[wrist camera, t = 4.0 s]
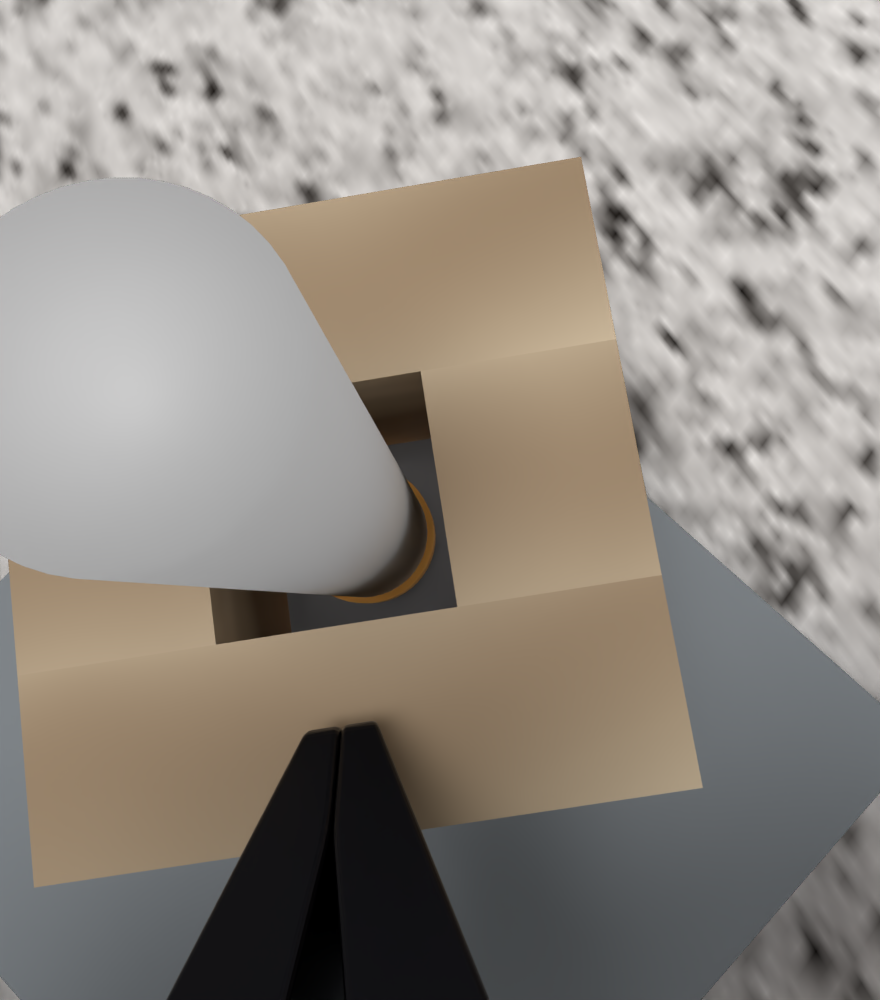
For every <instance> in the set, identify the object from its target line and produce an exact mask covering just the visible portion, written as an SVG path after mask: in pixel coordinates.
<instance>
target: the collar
mask: <svg viewBox="0 0 880 1000" xmlns="http://www.w3.org/2000/svg"><path fill="white" fill-rule="evenodd" d="M240 216H241V217H242V218H243V219H245V220H246V221H247V222H248V223H250V224H251V225H252V226H253V227H254V228H255V229H256V230H257V231H258V232H259V233H260V234H261V235H262V236H263V237H264V238H265V239H266V240H267V241H268V242H269V243H270V245H271V246H272V247H273V249H274V250H275V251H276V253H277V254H278V256H279V257H280V258H281V260H282V261H283V262H284V264H285V265H286V267H287V269H288V271H289V273H290V274H291V276H292V278H293V280H294V281H295V283H296V285H297V287H298V288H299V290H300V292H301V294H302V296H303V297H304V299H305V301H306V303H307V304H308V306H309V308H310V310H311V312H312V313H313V315H314V317H315V319H316V320H317V322H318V324H319V326H320V327H321V329H322V331H323V333H324V335H325V336H326V338H327V340H328V342H329V343H330V345H331V347H332V349H333V350H334V352H335V354H336V356H337V358H338V359H339V361H340V363H341V365H342V366H343V368H344V370H345V372H346V373H347V375H348V377H349V379H350V381H351V382H352V384H353V386H354V388H355V389H356V391H357V393H358V395H359V397H360V398H361V400H362V402H363V404H364V405H365V407H366V409H367V411H368V412H369V414H370V416H371V418H372V420H373V421H374V423H375V425H376V427H377V428H378V430H379V432H380V434H381V435H382V437H383V439H384V441H385V443H386V444H387V445H393V444H399V443H406V442H412V441H418V440H424V439H430V438H431V441H432V448H433V454H434V460H435V467H436V473H437V480H438V486H439V492H440V499H441V505H442V512H443V518H444V524H445V531H446V537H447V544H448V550H449V556H450V563H451V569H452V576H453V582H454V588H455V595H456V601H457V607H454V608H447V609H441V610H435V611H428V612H422V613H415V614H409V615H403V616H396V617H390V618H383V619H377V620H371V621H364V622H358V623H351V624H345V625H339V626H332V627H326V628H319V629H313V630H307V631H300V632H294V633H292V631H291V623H290V615H289V607H288V599H287V592H272V591H256V590H241V589H226V588H210V587H195V586H179V585H164V584H149V583H133V582H118V581H102V580H87V579H74V578H68V577H62V576H56V575H50V574H46V573H43V572H40V571H37V570H34V569H30V568H27V567H24V566H22V565H20V564H17V563H15V562H13V561H11V560H9V559H8V562H9V575H10V588H11V601H12V613H13V626H14V639H15V652H16V664H17V677H18V690H19V703H20V715H21V728H22V741H23V754H24V766H25V779H26V792H27V804H28V817H29V830H30V843H31V855H32V868H33V881H34V888H35V887H41V886H48V885H55V884H61V883H68V882H75V881H81V880H88V879H95V878H102V877H108V876H115V875H122V874H128V873H135V872H142V871H148V870H155V869H162V868H169V867H175V866H182V865H189V864H195V863H202V862H209V861H216V860H222V859H229V858H236V857H240V856H241V854H242V852H243V851H244V849H245V847H246V845H247V843H248V841H249V839H250V837H251V835H252V833H253V831H254V829H255V827H256V825H257V824H258V822H259V820H260V818H261V816H262V814H263V812H264V810H265V808H266V806H267V804H268V802H269V800H270V798H271V797H272V795H273V793H274V791H275V789H276V787H277V785H278V783H279V781H280V779H281V777H282V775H283V773H284V772H285V770H286V768H287V766H288V764H289V762H290V760H291V758H292V756H293V754H294V752H295V750H296V748H297V746H298V745H299V743H300V741H301V739H302V737H303V736H304V734H305V733H307V732H308V731H310V730H315V729H321V728H327V727H334V726H336V727H340V728H341V729H343V727H344V726H346V725H348V724H353V723H360V722H366V721H375V722H377V723H378V725H379V727H380V730H381V732H382V735H383V737H384V739H385V742H386V744H387V747H388V749H389V752H390V754H391V757H392V759H393V762H394V764H395V767H396V769H397V772H398V774H399V777H400V779H401V781H402V784H403V786H404V789H405V791H406V794H407V796H408V799H409V801H410V804H411V806H412V809H413V811H414V814H415V816H416V818H417V821H418V823H419V826H420V828H421V830H423V829H430V828H437V827H443V826H450V825H457V824H464V823H470V822H477V821H484V820H490V819H497V818H504V817H510V816H517V815H524V814H531V813H537V812H544V811H551V810H557V809H564V808H571V807H578V806H584V805H591V804H598V803H604V802H611V801H618V800H624V799H631V798H638V797H645V796H651V795H658V794H665V793H671V792H678V791H685V790H691V789H698V788H703V786H702V781H701V776H700V771H699V765H698V760H697V755H696V750H695V745H694V740H693V734H692V729H691V724H690V719H689V714H688V708H687V703H686V698H685V693H684V688H683V683H682V677H681V672H680V667H679V662H678V657H677V652H676V646H675V641H674V636H673V631H672V626H671V620H670V615H669V610H668V605H667V600H666V595H665V589H664V584H663V579H662V574H661V569H660V564H659V558H658V553H657V548H656V543H655V538H654V532H653V527H652V522H651V517H650V512H649V507H648V501H647V496H646V491H645V486H644V481H643V476H642V470H641V465H640V460H639V455H638V450H637V444H636V439H635V434H634V429H633V424H632V419H631V413H630V408H629V403H628V398H627V393H626V388H625V382H624V377H623V372H622V367H621V362H620V357H619V351H618V346H617V341H616V336H615V331H614V325H613V320H612V315H611V310H610V305H609V300H608V294H607V289H606V284H605V279H604V274H603V269H602V263H601V258H600V253H599V248H598V243H597V237H596V232H595V227H594V222H593V217H592V212H591V206H590V201H589V196H588V191H587V186H586V181H585V175H584V170H583V165H582V160H581V157H577V158H571V159H566V160H560V161H554V162H548V163H542V164H536V165H530V166H525V167H519V168H513V169H507V170H501V171H495V172H489V173H483V174H478V175H472V176H466V177H460V178H454V179H448V180H442V181H436V182H431V183H425V184H419V185H413V186H407V187H401V188H395V189H390V190H384V191H378V192H372V193H366V194H360V195H354V196H348V197H343V198H337V199H331V200H325V201H319V202H313V203H307V204H301V205H296V206H290V207H284V208H278V209H272V210H266V211H260V212H255V213H249V214H243V215H240Z"/></svg>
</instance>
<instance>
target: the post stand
mask: <svg viewBox="0 0 880 1000" xmlns="http://www.w3.org/2000/svg"><path fill="white" fill-rule="evenodd" d="M647 501H648V507H649V512H650V517H651V522H652V527H653V532H654V538H655V543H656V548H657V553H658V558H659V564H660V569H661V574H662V579H663V584H664V589H665V595H666V600H667V605H668V610H669V615H670V620H671V626H672V631H673V636H674V641H675V646H676V652H677V657H678V662H679V667H680V672H681V677H682V683H683V688H684V693H685V698H686V703H687V708H688V714H689V719H690V724H691V729H692V734H693V740H694V745H695V750H696V755H697V760H698V765H699V771H700V776H701V781H702V786H703V788H698V789H691V790H685V791H678V792H671V793H665V794H658V795H651V796H645V797H638V798H631V799H624V800H618V801H611V802H604V803H598V804H591V805H584V806H578V807H571V808H564V809H557V810H551V811H544V812H537V813H531V814H524V815H517V816H510V817H504V818H497V819H490V820H484V821H477V822H470V823H464V824H457V825H450V826H443V827H437V828H430V829H423V830H421V831H422V833H423V836H424V838H425V841H426V843H427V846H428V848H429V851H430V853H431V855H432V858H433V860H434V863H435V865H436V868H437V870H438V873H439V875H440V878H441V880H442V883H443V885H444V888H445V890H446V892H447V895H448V897H449V900H450V902H451V905H452V907H453V910H454V912H455V915H456V917H457V920H458V922H459V925H460V927H461V930H462V932H463V934H464V937H465V939H466V942H467V944H468V947H469V949H470V952H471V954H472V957H473V959H474V962H475V964H476V967H477V969H478V971H479V974H480V976H481V979H482V981H483V984H484V986H485V989H486V991H487V994H488V996H489V999H490V1000H701V999H702V998H703V997H704V996H705V995H706V994H707V992H708V991H709V990H710V989H711V988H712V987H713V985H714V984H715V983H716V982H717V981H718V980H719V978H720V977H721V976H722V975H723V974H724V973H725V972H726V970H727V969H728V968H729V967H730V966H731V965H732V963H733V962H734V961H735V960H736V959H737V958H738V956H739V955H740V954H741V953H742V952H743V951H744V949H745V948H746V947H747V946H748V945H749V944H750V943H751V941H752V940H753V939H754V938H755V937H756V936H757V934H758V933H759V932H760V931H761V930H762V929H763V927H764V926H765V925H766V924H767V923H768V922H769V921H770V919H771V918H772V917H773V916H774V915H775V914H776V912H777V911H778V910H779V909H780V908H781V907H782V905H783V904H784V903H785V902H786V901H787V900H788V898H789V897H790V896H791V895H792V894H793V893H794V892H795V890H796V889H797V888H798V887H799V886H800V885H801V883H802V882H803V881H804V880H805V879H806V878H807V876H808V875H809V874H810V873H811V872H812V871H813V870H814V868H815V867H816V866H817V865H818V864H819V863H820V861H821V860H822V859H823V858H824V857H825V856H826V854H827V853H828V852H829V851H830V850H831V849H832V847H833V846H834V845H835V844H836V843H837V842H838V841H839V839H840V838H841V837H842V836H843V835H844V834H845V832H846V831H847V830H848V829H849V828H850V827H851V825H852V824H853V823H854V822H855V821H856V820H857V818H858V817H859V816H860V815H861V814H862V813H863V812H864V810H865V809H866V808H867V807H868V806H869V805H870V803H871V802H872V801H873V800H874V799H875V798H876V796H877V795H878V794H879V793H880V703H879V702H878V701H877V700H876V699H875V698H874V697H872V696H871V695H870V694H869V693H868V692H867V691H866V690H865V689H863V688H862V687H861V686H860V685H859V684H858V683H857V682H856V681H854V680H853V679H852V678H851V677H850V676H849V675H848V674H846V673H845V672H844V671H843V670H842V669H841V668H840V667H839V666H837V665H836V664H835V663H834V662H833V661H832V660H831V659H830V658H828V657H827V656H826V655H825V654H824V653H823V652H822V651H821V650H819V649H818V648H817V647H816V646H815V645H814V644H813V643H811V642H810V641H809V640H808V639H807V638H806V637H805V636H804V635H802V634H801V633H800V632H799V631H798V630H797V629H796V628H795V627H793V626H792V625H791V624H790V623H789V622H788V621H787V620H785V619H784V618H783V617H782V616H781V615H780V614H779V613H778V612H776V611H775V610H774V609H773V608H772V607H771V606H770V605H769V604H767V603H766V602H765V601H764V600H763V599H762V598H761V597H760V596H758V595H757V594H756V593H755V592H754V591H753V590H752V589H750V588H749V587H748V586H747V585H746V584H745V583H744V582H743V581H741V580H740V579H739V578H738V577H737V576H736V575H735V574H734V573H732V572H731V571H730V570H729V569H728V568H727V567H726V566H724V565H723V564H722V563H721V562H720V561H719V560H718V559H717V558H715V557H714V556H713V555H712V554H711V553H710V552H709V551H708V550H706V549H705V548H704V547H703V546H702V545H701V544H700V543H699V542H697V541H696V540H695V539H694V538H693V537H692V536H691V535H689V534H688V533H687V532H686V531H685V530H684V529H683V528H682V527H680V526H679V525H678V524H677V523H676V522H675V521H674V520H673V519H671V518H670V517H669V516H668V515H667V514H666V513H665V512H663V511H662V510H661V509H660V508H659V507H658V506H657V505H656V504H654V503H653V502H652V501H651V500H650V499H649V498H648V497H647ZM0 555H1V556H3V557H5V558H7V559H9V560H11V561H13V562H15V563H17V564H20V565H22V566H24V567H27V568H30V569H34V570H37V571H40V572H43V573H46V574H50V575H56V576H62V577H68V578H74V579H87V580H102V581H118V582H133V583H149V584H164V585H179V586H195V587H210V588H226V589H241V590H256V591H272V592H287V599H288V607H289V615H290V623H291V631H292V633H294V632H300V631H307V630H313V629H319V628H326V627H332V626H339V625H345V624H351V623H358V622H364V621H371V620H377V619H383V618H390V617H396V616H403V615H409V614H415V613H422V612H428V611H435V610H441V609H447V608H454V607H457V601H456V595H455V588H454V582H453V576H452V569H451V563H450V556H449V550H448V544H447V537H446V531H445V524H444V518H443V512H442V505H441V499H440V492H439V486H438V480H437V473H436V467H435V460H434V454H433V448H432V441H431V438H430V439H424V440H418V441H412V442H406V443H399V444H393V445H387V444H386V443H385V441H384V439H383V437H382V435H381V434H380V432H379V430H378V428H377V427H376V425H375V423H374V421H373V420H372V418H371V416H370V414H369V412H368V411H367V409H366V407H365V405H364V404H363V402H362V400H361V398H360V397H359V395H358V393H357V391H356V389H355V388H354V386H353V384H352V382H351V381H350V379H349V377H348V375H347V373H346V372H345V370H344V368H343V366H342V365H341V363H340V361H339V359H338V358H337V356H336V354H335V352H334V350H333V349H332V347H331V345H330V343H329V342H328V340H327V338H326V336H325V335H324V333H323V331H322V329H321V327H320V326H319V324H318V322H317V320H316V319H315V317H314V315H313V313H312V312H311V310H310V308H309V306H308V304H307V303H306V301H305V299H304V297H303V296H302V294H301V292H300V290H299V288H298V287H297V285H296V283H295V281H294V280H293V278H292V276H291V274H290V273H289V271H288V269H287V267H286V265H285V264H284V262H283V261H282V260H281V258H280V257H279V256H278V254H277V253H276V251H275V250H274V249H273V247H272V246H271V245H270V243H269V242H268V241H267V240H266V239H265V238H264V237H263V236H262V235H261V234H260V233H259V232H258V231H257V230H256V229H255V228H254V227H253V226H252V225H251V224H250V223H248V222H247V221H246V220H245V219H243V218H242V217H241V216H240V215H238V214H237V213H236V212H234V211H233V210H232V209H230V208H228V207H227V206H225V205H223V204H221V203H220V202H218V201H216V200H215V199H213V198H211V197H209V196H206V195H204V194H202V193H199V192H197V191H194V190H192V189H190V188H187V187H183V186H179V185H176V184H172V183H168V182H165V181H158V180H151V179H144V178H105V179H96V180H88V181H83V182H79V183H75V184H71V185H67V186H63V187H60V188H57V189H54V190H52V191H49V192H46V193H44V194H41V195H39V196H36V197H34V198H32V199H30V200H29V201H27V202H25V203H23V204H21V205H19V206H17V207H15V208H13V209H12V210H10V211H9V212H7V213H6V214H4V215H3V216H2V217H0ZM239 858H240V857H236V858H229V859H222V860H216V861H209V862H202V863H195V864H189V865H182V866H175V867H169V868H162V869H155V870H148V871H142V872H135V873H128V874H122V875H115V876H108V877H102V878H95V879H88V880H81V881H75V882H68V883H61V884H55V885H48V886H41V887H35V888H34V881H33V868H32V855H31V843H30V830H29V817H28V804H27V792H26V779H25V766H24V754H23V741H22V728H21V715H20V703H19V690H18V677H17V664H16V652H15V639H14V626H13V613H12V601H11V588H10V575H9V573H8V574H7V575H6V576H5V577H4V578H3V579H2V580H1V581H0V977H1V978H2V979H3V980H4V982H5V983H6V984H7V985H8V986H9V987H10V988H11V990H12V991H13V992H14V993H15V994H16V995H17V996H18V998H19V999H20V1000H166V999H167V997H168V995H169V993H170V991H171V989H172V987H173V985H174V983H175V982H176V980H177V978H178V976H179V974H180V972H181V970H182V968H183V966H184V964H185V962H186V960H187V958H188V956H189V955H190V953H191V951H192V949H193V947H194V945H195V943H196V941H197V939H198V937H199V935H200V933H201V931H202V929H203V928H204V926H205V924H206V922H207V920H208V918H209V916H210V914H211V912H212V910H213V908H214V906H215V904H216V903H217V901H218V899H219V897H220V895H221V893H222V891H223V889H224V887H225V885H226V883H227V881H228V879H229V877H230V876H231V874H232V872H233V870H234V868H235V866H236V864H237V862H238V860H239Z"/></svg>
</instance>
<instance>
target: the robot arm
mask: <svg viewBox="0 0 880 1000" xmlns="http://www.w3.org/2000/svg"><path fill="white" fill-rule="evenodd" d="M166 1000H490V999H489V996H488V994H487V991H486V989H485V986H484V984H483V981H482V979H481V976H480V974H479V971H478V969H477V967H476V964H475V962H474V959H473V957H472V954H471V952H470V949H469V947H468V944H467V942H466V939H465V937H464V934H463V932H462V930H461V927H460V925H459V922H458V920H457V917H456V915H455V912H454V910H453V907H452V905H451V902H450V900H449V897H448V895H447V892H446V890H445V888H444V885H443V883H442V880H441V878H440V875H439V873H438V870H437V868H436V865H435V863H434V860H433V858H432V855H431V853H430V851H429V848H428V846H427V843H426V841H425V838H424V836H423V833H422V831H421V828H420V826H419V823H418V821H417V818H416V816H415V814H414V811H413V809H412V806H411V804H410V801H409V799H408V796H407V794H406V791H405V789H404V786H403V784H402V781H401V779H400V777H399V774H398V772H397V769H396V767H395V764H394V762H393V759H392V757H391V754H390V752H389V749H388V747H387V744H386V742H385V739H384V737H383V735H382V732H381V730H380V727H379V725H378V723H377V722H375V721H366V722H360V723H353V724H348V725H346V726H344V727H343V729H341V728H340V727H336V726H334V727H327V728H321V729H315V730H310V731H308V732H307V733H305V734H304V736H303V737H302V739H301V741H300V743H299V745H298V746H297V748H296V750H295V752H294V754H293V756H292V758H291V760H290V762H289V764H288V766H287V768H286V770H285V772H284V773H283V775H282V777H281V779H280V781H279V783H278V785H277V787H276V789H275V791H274V793H273V795H272V797H271V798H270V800H269V802H268V804H267V806H266V808H265V810H264V812H263V814H262V816H261V818H260V820H259V822H258V824H257V825H256V827H255V829H254V831H253V833H252V835H251V837H250V839H249V841H248V843H247V845H246V847H245V849H244V851H243V852H242V854H241V856H240V858H239V860H238V862H237V864H236V866H235V868H234V870H233V872H232V874H231V876H230V877H229V879H228V881H227V883H226V885H225V887H224V889H223V891H222V893H221V895H220V897H219V899H218V901H217V903H216V904H215V906H214V908H213V910H212V912H211V914H210V916H209V918H208V920H207V922H206V924H205V926H204V928H203V929H202V931H201V933H200V935H199V937H198V939H197V941H196V943H195V945H194V947H193V949H192V951H191V953H190V955H189V956H188V958H187V960H186V962H185V964H184V966H183V968H182V970H181V972H180V974H179V976H178V978H177V980H176V982H175V983H174V985H173V987H172V989H171V991H170V993H169V995H168V997H167V999H166Z"/></svg>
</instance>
